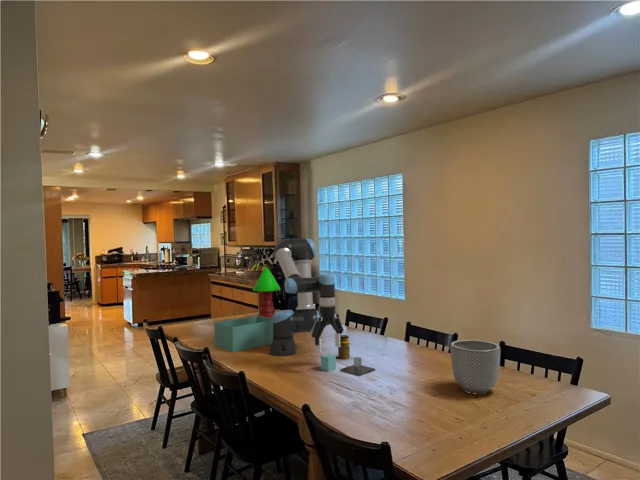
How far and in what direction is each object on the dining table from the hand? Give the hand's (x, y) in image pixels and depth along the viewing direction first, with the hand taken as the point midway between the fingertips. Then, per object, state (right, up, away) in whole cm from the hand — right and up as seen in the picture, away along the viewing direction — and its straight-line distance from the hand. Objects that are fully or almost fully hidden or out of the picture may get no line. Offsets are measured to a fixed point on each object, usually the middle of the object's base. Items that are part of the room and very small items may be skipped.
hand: (328, 349), depth 217 cm
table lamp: (-41, -10, +97) cm, 106 cm away
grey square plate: (+14, -10, -2) cm, 17 cm away
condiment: (+8, -10, +20) cm, 24 cm away
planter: (+61, -10, -32) cm, 69 cm away
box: (-49, -11, +55) cm, 74 cm away
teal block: (0, -10, 0) cm, 10 cm away
